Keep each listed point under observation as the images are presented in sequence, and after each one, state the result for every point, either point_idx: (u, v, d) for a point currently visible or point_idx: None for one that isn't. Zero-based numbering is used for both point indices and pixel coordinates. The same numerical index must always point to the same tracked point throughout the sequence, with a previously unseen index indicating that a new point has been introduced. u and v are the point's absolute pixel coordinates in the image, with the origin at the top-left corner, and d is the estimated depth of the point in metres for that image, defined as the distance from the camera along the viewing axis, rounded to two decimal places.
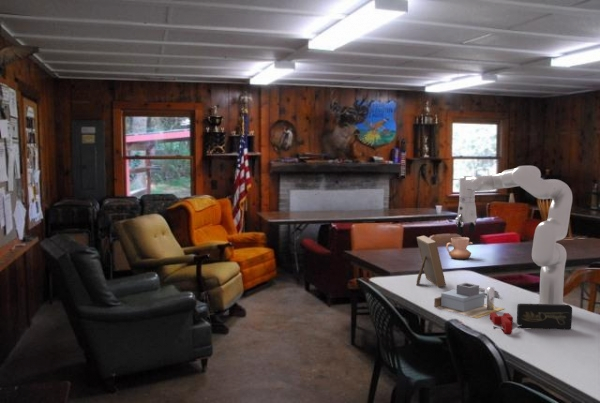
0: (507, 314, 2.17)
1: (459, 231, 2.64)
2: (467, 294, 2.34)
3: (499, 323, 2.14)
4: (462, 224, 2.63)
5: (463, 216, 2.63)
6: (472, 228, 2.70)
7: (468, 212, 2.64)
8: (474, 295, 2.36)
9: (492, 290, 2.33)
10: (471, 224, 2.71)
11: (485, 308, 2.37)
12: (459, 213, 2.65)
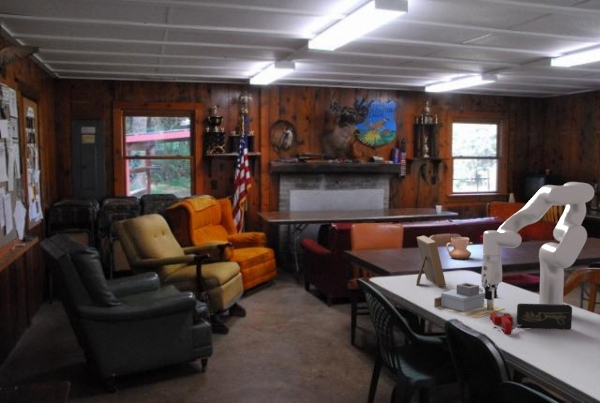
0: (507, 314, 2.17)
1: (487, 296, 2.33)
2: (467, 294, 2.34)
3: (499, 323, 2.14)
4: (490, 288, 2.32)
5: (488, 277, 2.29)
6: None
7: (494, 273, 2.30)
8: (474, 295, 2.36)
9: (492, 290, 2.33)
10: None
11: (485, 308, 2.37)
12: (483, 274, 2.31)
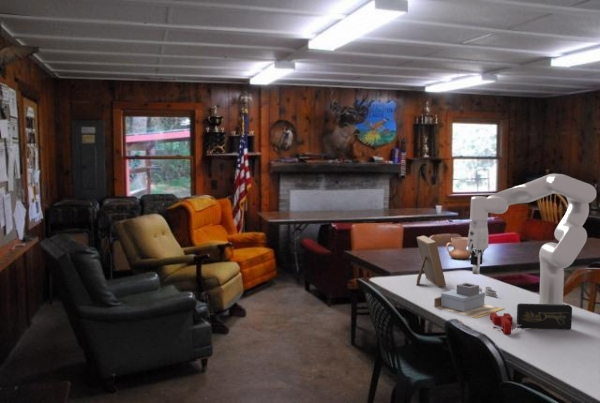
0: (507, 314, 2.17)
1: (473, 261, 2.34)
2: (467, 294, 2.34)
3: (499, 323, 2.14)
4: (476, 253, 2.33)
5: (474, 242, 2.30)
6: None
7: (480, 238, 2.31)
8: (474, 295, 2.36)
9: (478, 254, 2.34)
10: None
11: (485, 308, 2.37)
12: (469, 239, 2.32)
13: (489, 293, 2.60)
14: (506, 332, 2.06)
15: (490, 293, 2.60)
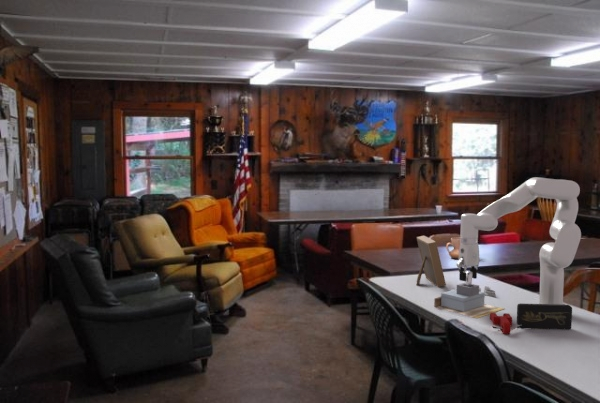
0: (507, 314, 2.17)
1: (461, 277, 2.34)
2: (467, 294, 2.34)
3: (498, 323, 2.14)
4: (464, 269, 2.33)
5: (465, 260, 2.32)
6: (474, 273, 2.39)
7: (471, 255, 2.33)
8: (474, 295, 2.36)
9: (470, 274, 2.36)
10: (473, 269, 2.40)
11: (485, 308, 2.37)
12: (460, 256, 2.34)
13: (488, 293, 2.60)
14: (505, 332, 2.06)
15: (489, 293, 2.60)
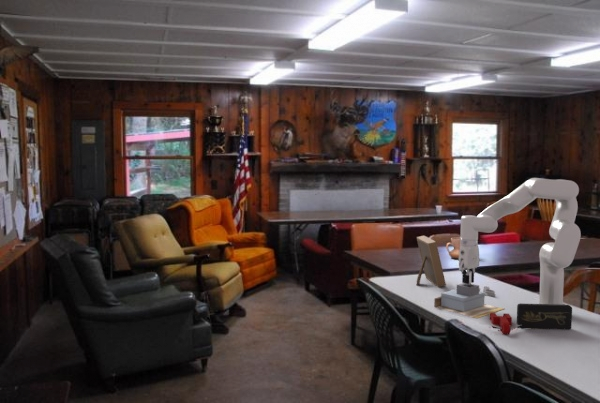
0: (507, 314, 2.17)
1: (464, 280, 2.36)
2: (467, 294, 2.34)
3: (498, 323, 2.14)
4: (467, 272, 2.35)
5: (465, 261, 2.33)
6: None
7: (471, 257, 2.33)
8: (474, 295, 2.36)
9: (469, 273, 2.36)
10: None
11: (485, 308, 2.37)
12: (460, 258, 2.34)
13: (488, 293, 2.61)
14: (505, 332, 2.06)
15: (489, 293, 2.60)
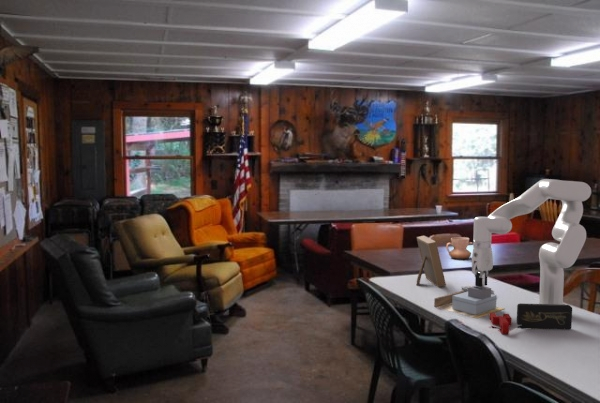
0: (506, 314, 2.17)
1: (477, 283, 2.31)
2: (479, 296, 2.30)
3: (497, 323, 2.14)
4: (480, 275, 2.30)
5: (478, 264, 2.27)
6: None
7: (484, 259, 2.28)
8: (486, 298, 2.31)
9: (482, 275, 2.31)
10: None
11: None
12: (473, 260, 2.29)
13: None
14: (504, 332, 2.06)
15: None
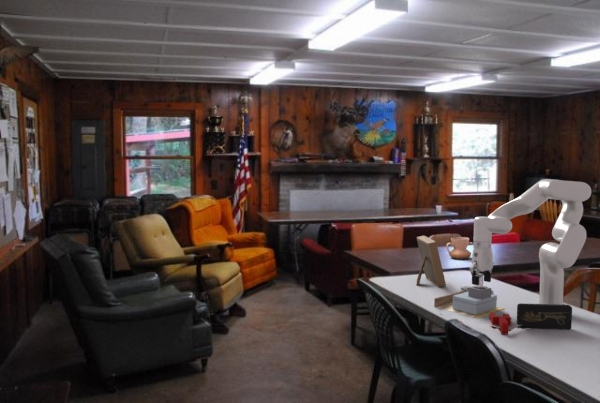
0: (506, 315, 2.16)
1: (474, 281, 2.29)
2: (479, 297, 2.30)
3: (497, 323, 2.14)
4: (477, 273, 2.28)
5: (478, 264, 2.27)
6: (488, 277, 2.34)
7: (484, 259, 2.28)
8: (486, 298, 2.31)
9: (480, 276, 2.31)
10: (487, 272, 2.35)
11: None
12: (473, 260, 2.29)
13: None
14: (503, 332, 2.06)
15: None
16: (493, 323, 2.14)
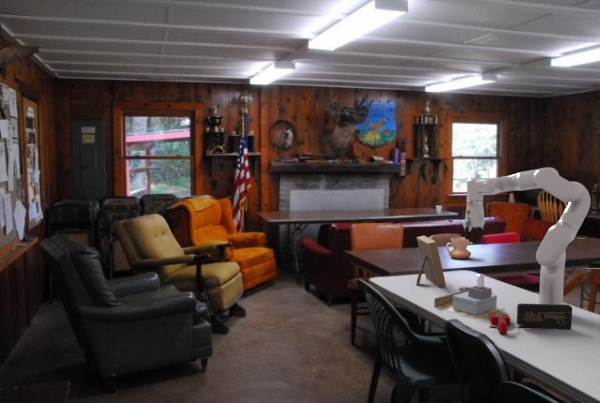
0: (506, 315, 2.16)
1: (467, 236, 2.52)
2: (479, 297, 2.30)
3: (496, 323, 2.14)
4: (470, 229, 2.51)
5: (471, 220, 2.51)
6: (480, 233, 2.58)
7: (476, 216, 2.51)
8: (486, 298, 2.31)
9: (482, 277, 2.31)
10: (479, 229, 2.58)
11: None
12: (467, 217, 2.53)
13: None
14: (502, 332, 2.06)
15: None
16: (492, 323, 2.14)
